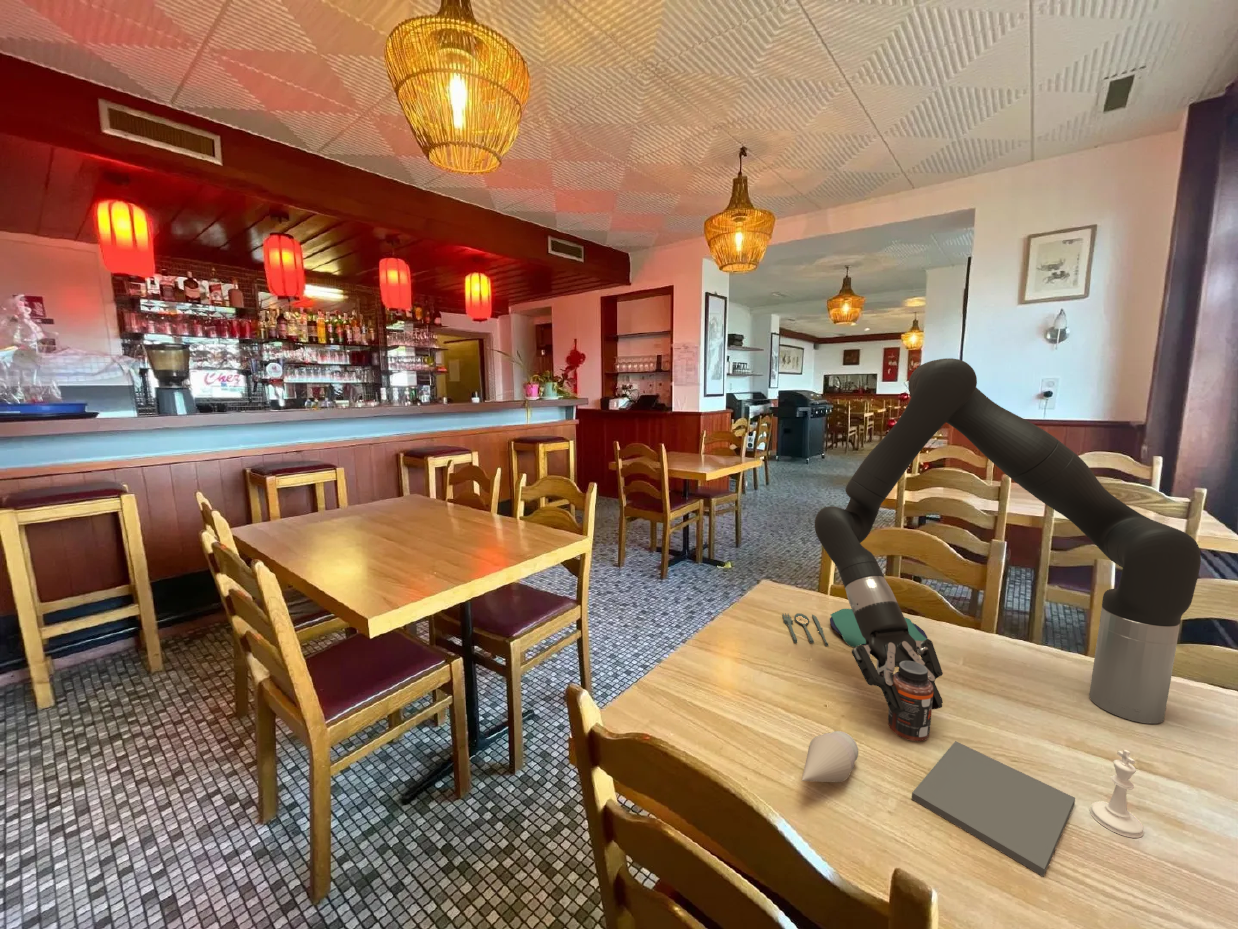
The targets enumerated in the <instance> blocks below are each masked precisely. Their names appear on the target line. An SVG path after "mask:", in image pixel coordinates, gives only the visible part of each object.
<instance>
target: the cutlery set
mask: <svg viewBox="0 0 1238 929" xmlns="http://www.w3.org/2000/svg"><path fill="white" fill-rule="evenodd" d="M785 616H786V617H785ZM798 616H802V617H803V618H805V619H807V620H808V623H806V624H805V623H803V622H802V623H801V622H800V621H797V620H796V617H798ZM830 616H831V617H830V618H829V622H830V626H831V628H832V629H833V630H834V631H835V632H836V633H837V634H839V635H840V636H842V639H843V640H844V642H845V643H846V644H847V645H848V646H849V645H850V646H849V647H852V648H853V649H854V648H856V647H858V646H859V645H862V646H865V645H866V640H865V638H863V636H862V634H861V631H860V629H859V626H858V624H857V621H856V619H855V616H854V613H853V611H852V609H851V608H841V609H839V610H837V611H835V612H831V614H830ZM811 617H812V619H813V621H814V623H815V625H816V628H817V629H816V632H817V631H819V632H818V634H819V635H820V636H821V637H822V640H823V641H824V645H825V647H829V645H830V644H829V642H828V641H827V639H826V637H825V633H824V630H823V627H821V624H820V621H819V619H818V617H817V616H816V615H814V614H811ZM782 618H783V624H785V625H786V624H787V626H788V629H789V632H790V635H791V637H792V639H793V643H794V644H797V643H798V637H797V636H796V633H795V631H794V629H793V623H794V622H793V621H794V620H795V622H796V623H797V624H799V625H802V627H803V628H804V631H805V633H806V635H807V638H808V641H809V644H814V643H815V640H814V639H813V636H812V634H811V633H810V630H809V629H808V628H807V626H806V625H808V624H809V623H810V618H809V617H808V616H807V615H806V614H804V613H796V614H794V620H793V619H792V617H791V616H790V614H789V613H786V612H785V613H784V612H783V613H782ZM904 618H905V620H906V622H907V625H908V632H909V634H910V635H911V637H912V638H913V639H914V640H915V641H924V640H926V639H928V635H927V634H926V632H925V630H924V629H922V628H921V627H920V626H919V625H917V624H916V623H914V622H912V620H911V619H909V617H905V616H904Z"/></svg>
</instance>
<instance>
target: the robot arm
mask: <svg viewBox="0 0 1238 929" xmlns="http://www.w3.org/2000/svg"><path fill="white" fill-rule="evenodd" d="M977 384H978V379H977V375H976V371H975V370H974V369H973V367H972V366H971V365H970V363H967V362H966V361H964V360H961V359H958V358H953V357H950V358H948V357H947V358H939V359H934V360H930V361H927V362H925V363H923V364H921V365H919V366H918V367H917V368H915V369H914V370H913V371H912V373H911V375H910V377H909V380H908V384H907V385H908V386H907V387H908V393H909V395H910V400H909V402H908V403H907V405H906V407H905V409H904V411H903V412H902V414H901V416H900V417H899V419H898V420H897V421H896V422H895V424H894V425H893V426H892V428H891V429H890V430H889V431H888V432H887V433H886V435H885V436H884V437H883V438H882V439H881V440H880V441H879V442H878V444H876V446H875V447H874V448H873V449H871V451H870V452H869V453H868V455H866V457H865V458H864V460H863V461H862V462H861V464H860V465H859V467H858V468H857V469H856V471H855V472H854V473H853V475H852V476H851V478H850V480H849V481H848V483H847V484H846V486H845V489H844V490H845V493H846V494H847V496H848V497H849V501H848V504H847V505H846V508H845V509H844V508H842V507H838V506H834V505H833V506H831V505H829V506H825V507H823V508H821V509H820V510H819V511H818V512H817V514H816V516H815V519H814V529H815V530H814V531H815V534H816V536H817V539H818V541H819V543H820V544H821V546H822V547H823V549H824V550H825V552H826V553H827V555H828V557H829V558H830V560H831V561H832V563H833V565H834V566H835V567H836V569H837V570H838V574H839V577H840V579H841V581H842V582H841V583H842V584H843V587H844V589H845V592H846V597H847V600H848V602H849V606H850V609H852V611H853V613H854V616H855V619H856V621H857V624H858V626H859V629H860V631H861V634H862V636H863V638H865V640H866V645H865V646H863V645H859V646H857V647H855V648H854V647H853V649H852V650H851V654H852V656H853V659H854V661H855V662H856V665H857V666H858V668H859V670H860V672H861V675H862V676H863V678H864V680H865V683H866V684H867V685H868V686H871V687H872V686H875V687H878V688H879V689H880V690H881V691H882V694H883V696H884V699H885V702H886V704H887V707H888V709H889V708H890V709H891V710H893V712H894V713H895V714H896V713H901V712H904V711H905V709H904V706H903V704H902V701H901V699H900V696H899V694H898V691H897V689H896V687H895V686H892V684H893V674H894V673H895V672H894V671H895V670H896V669H895V668H899V663H900V662H902V661H913V662H917V663H920V664H922V665H923V666H925V667H926V668H927V670H928V678H927V679H928V680H929V681H930V682H931V683H932V685H933V703H932V711H933V710H939V709H941V708H943V701H944V700H943V698H942V696H941V694H940V691H939V689H938V687H937V685H936V682H935V681H936V679H938V678H940V677H942V676H943V675H944V672H943V669H942V667H941V663H940V660H939V658H938V655H937V653H936V649H935V647H934V644H933V641H932V640H931V639H928V638H927V639H926V640H924V641H915V640H914V639H913V638H912V637H911V635H910V634H909V632H908V625H907V622H906V620H905V618H906V617H905V616H904V613H903V611H902V609H901V607H900V605H899V603H898V601H897V598H896V596H895V594H894V592H893V590H892V588H891V586H890V585H889V584H888V581H887V580H886V578H885V576H884V573H883V572H882V569H881V567H880V565H879V562H878V561H877V558H876V556H875V555H874V554H873V553H872V552H871V551H870V550H868V549H866V548H865V547H864V546H863V545H862V544H861V543H862V542H863V541H864V540H866V538H867V537H868V536H869V534H870V533H871V531H872V528H873V526H874V524H875V521H876V519H877V517H878V515H879V511H880V508H881V505H882V504H883V502H884V501H885V500H886V499H887V497H888V496H889V495H890V493H891V492H892V490H893V489H894V488H895V486H896V485H897V484H898V483H899V480H900V479H901V478H902V477H903V475H904V474H905V472H906V471H907V469H908V468H909V467H910V466H911V464H912V463H913V461H914V460H915V459H916V457H917V456H918V455H919V454H920V452H921V451H922V450H923V448H924V447H926V445H927V443H928V442H929V441H930V440H931V439H932V438H933V437H934V435H936V433H937V432H939V430H940V429H942V427H943V426H944V425H945V424H946V423H947V424H948V425H950V426H951V427H953V428H954V429H955V430H957V431H958V432H959V433H960V434H962V435H963V436H964V437H965V438H967V440H969V442H970V443H971V444H972V445H973V446H974V447H976V449H978V450H979V452H981V454H983V456H985V457H986V458H987V459H989V461H990V462H992V463H993V465H995V466H996V467H997V468H998V469H1000V470H1001V471H1002V472H1003V473H1004V474H1005V475H1006V476H1008V477H1009V478H1010V479H1011V480H1012V481H1014V483H1016V484H1017V485H1019V487H1021V488H1022V489H1023V490H1025V491H1026V492H1028V493H1029V494H1030V495H1032V496H1033V497H1035V498H1036V499H1037V500H1039V501H1040V502H1042V503H1044V504H1045V505H1046V506H1047V507H1050V508H1051V509H1053V510H1054V511H1055V512H1057V513H1059V514H1061V515H1062V516H1064V517H1065V518H1066V519H1067V520H1069V521H1070V522H1071V523H1072V524H1073V525H1074V526H1076V527H1077V528H1078V530H1080V531H1081V532H1082V533H1083V534H1084V535H1085V536H1086V537H1087V538H1088V539H1089V540H1090V541H1091V542H1092V543H1093V544H1094V545H1095V546H1096V547H1097V548H1098V549H1099V550H1100V551H1101V553H1103V555H1105V556H1106V557H1107V558H1108V559H1109V560H1110V561H1111V562H1113V563H1114V564H1116V565H1117V566H1118V567H1121V568H1122V570H1121V575H1120V578H1119V584H1118V586H1117V587H1116V588H1111V589H1108V590H1105V591H1104V593H1103V595H1102V600H1101V608H1100V609H1101V610H1100V616H1099V626H1098V632H1097V638H1096V646H1095V652H1094V660H1093V665H1092V674H1091V680H1090V685H1089V691H1088V692H1089V693H1088V696H1089V699H1090V700H1091V701H1092V702H1093V704H1095V705H1096V706H1098V707H1099V708H1100V709H1102V710H1104V711H1106V712H1108V713H1110V714H1113V715H1114V716H1118V717H1120V718H1122V719H1126V720H1129V721H1133V722H1137V723H1143V724H1152V725H1153V724H1160V723H1163V722H1164V720H1165V715H1166V710H1167V705H1168V704H1167V703H1168V699H1169V693H1170V686H1171V682H1172V681H1171V680H1172V674H1173V669H1174V664H1175V658H1176V652H1177V646H1178V638H1179V632H1180V627H1181V620H1182V616H1183V615H1184V614H1185V612H1187V610H1189V608H1190V606H1191V604H1192V601H1193V597H1194V595H1195V594H1194V593H1195V590H1196V587H1197V582H1198V578H1199V574H1200V569H1201V563H1202V555H1201V549H1200V546H1199V544H1198V542H1197V541H1196V540H1195V539H1194V538H1193V537H1192V536H1191V535H1189V534H1188V533H1187V532H1185V531H1183V530H1181V529H1178V528H1175V527H1173V526H1170V525H1167V524H1164V523H1161V522H1160V521H1157V520H1153V519H1152V518H1149V517H1147V516H1145V515H1143V514H1141V513H1140V512H1138V511H1136V510H1135V509H1133V508H1132V507H1130V506H1129V505H1127V504H1125V503H1124V502H1123V501H1121V500H1120V499H1118V498H1117V497H1116V496H1114V495H1113V494H1111V493H1110V492H1109V490H1107V489H1106V488H1105V487H1104V486H1103V485H1102V483H1101V482H1100V481H1099V479H1098V477H1097V476H1096V475H1095V474H1094V472H1093V470H1092V469H1091V468H1090V467H1089V466H1088V465H1087V463H1086V462H1085V461H1084V459H1082V458H1081V456H1079V455H1078V454H1077V453H1075V452H1074V451H1073V450H1072V449H1071V448H1069V447H1068V446H1067V445H1066V444H1064V443H1063V442H1061V441H1060V440H1059V439H1058V438H1056V437H1055V436H1053V435H1052V434H1051V433H1050V432H1048V431H1046V430H1045V429H1042V428H1041V427H1039V426H1038V425H1036V424H1034V423H1032V422H1031V421H1028V420H1027V419H1025V418H1024V417H1021V416H1019V415H1018V414H1016V413H1014V412H1011V411H1010V410H1008V409H1006V408H1004V407H1003V406H1000V405H999V404H997V403H995V402H994V401H993V400H991V399H990V398H989V397H988V396H987V395H986V394H985V393H984V392H982V391H981V390H980V389H979V388H977ZM904 617H905V618H904ZM918 654H919V655H918ZM871 656H872V657H874V659H876V666H875V665H874V662H873V661H872V659H871Z"/></svg>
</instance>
